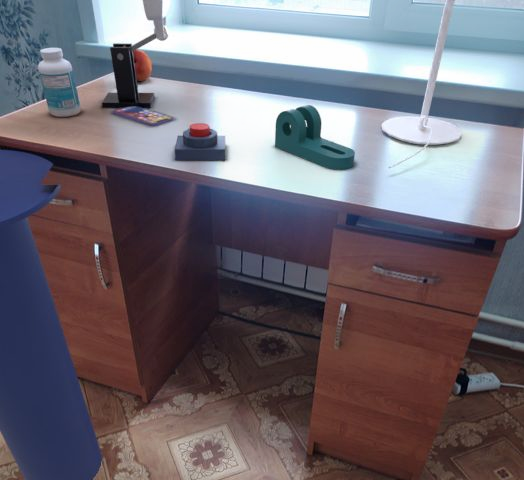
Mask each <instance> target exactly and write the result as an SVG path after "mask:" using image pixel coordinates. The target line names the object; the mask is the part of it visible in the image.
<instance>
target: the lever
mask: <svg viewBox="0 0 524 480" xmlns="http://www.w3.org/2000/svg"><path fill="white" fill-rule="evenodd" d="M163 28H164V39H157V38H156V30H155V28H154V29H153V33H152V34H150V35H149V36H147V37H145V38H143V39H141V40H139V41H137V42H135V43H134V44H132V46H130V47H129V49H130V53H131V52H133V51H134V50H139V49H140V48H142V47H143V46H145V45H147V44H149V43H151V42H152V41H154V40H158V41H160V42H164V41H166V40H167V39H168V37H169V34H170V33H169V29H168V27H167V25H166V26H165V25H163ZM123 47H126V46H123Z"/></svg>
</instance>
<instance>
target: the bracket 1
mask: <svg viewBox="0 0 524 480" xmlns="http://www.w3.org/2000/svg"><path fill="white" fill-rule="evenodd" d="M132 45H133V44H132V43H119V42H118V43H112V46H110V47H109V50H110V58H111V62H112V70H113V75H114V81H115V88H116V92H107V94H106V95H105V97H104V98H103V100H102V101H101V108H103V109H106V108H108V109H120V108H124V107H128V106H139V107H142V108H146V109H151V108H152V105H153V103H154V100H155V92H139V89H138V81H137V80H136V72H135V65H134V57H133V52H131V53H130V49H129V47H130V46H132ZM123 46H126V47H123Z"/></svg>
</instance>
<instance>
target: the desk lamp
mask: <svg viewBox="0 0 524 480" xmlns="http://www.w3.org/2000/svg"><path fill="white" fill-rule="evenodd" d="M455 1H456V0H445V3H444V7H443V10H442V14H441V19H440V24H439V27H438V28H439V29H438V32H437V33H438V34H437V38H436V42H435V47H434V52H433V57H432V61H431V66H430V71H429V75H428V80H427V85H426V89H425V94H424V97H423V103H422V107H421V113H420V116H416V115H415V116H413V115H407V116H396V117H391V118H388V119H386V120H385V121H383V123H381V130H382V131H383V132H384V133H385V134H387V135H388V137H392V138H394V139H396V140H398V141H401V142H403V143H408V144H414V145H421V146H423V147H421V148H420V149H419V150H417V151H416V152H414V153H413V154H412V155H410V156H408V157H406V158H404V159H402V160H401V161H398V162H397V163H394V164H392V165H390V166H388V169H391V168H394V167H395V166H398V165H400V164H402V163H404V162H406V161H408V160H410V159H411V158H413V157H415V156H416V155H417V154H420V153H421V152H422V151H423V150H424V149H425V148H427V147H428V146H438V145H445V144H451V143H453V142H456V141H459V140H460V139H461V137H462V136H463V132H462V130H461V128H460V127H458V126H456V125H455V124H453V123H452V122H448V121H445V120H442V119H438V118H432V117H429V114H430V110H431V105H432V100H433V98H434V97H433V96H434V93H435V92H434V91H435V87H436V84H437V83H436V82H437V79H438V74H439V70H440V65H441V62H442V61H441V60H442V57H443V52H444V48H445V44H446V38H447V34H448V30H449V26H450V22H451V18H452V12H453V8H454V5H455Z"/></svg>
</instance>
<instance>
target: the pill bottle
mask: <svg viewBox="0 0 524 480" xmlns="http://www.w3.org/2000/svg"><path fill="white" fill-rule="evenodd" d="M39 52H40V57H41V58H42V60H41V61H40V62H39V63H38V65H37V70H38V73H39V78H40V81H41V85H42V88H43V93H44V98H45V100H46V104H47V109H48V112H49V114H50V115H52V116H53V117H56V118H57V117H58V118H68V117H73V116H76V115H78V114H80V112H81V110H82V109H81V103H80V98H79V93H78V89H77V85H76V81H75V76H74V71H73V65H72V64H71V63H70V61H69V60H67V59H65V58H64V57H63V56H64V53H63V50H62V48H60V47H47V48H42V49H40V50H39Z"/></svg>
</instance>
